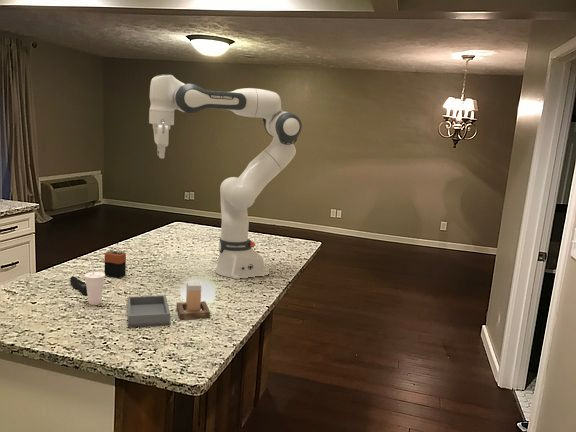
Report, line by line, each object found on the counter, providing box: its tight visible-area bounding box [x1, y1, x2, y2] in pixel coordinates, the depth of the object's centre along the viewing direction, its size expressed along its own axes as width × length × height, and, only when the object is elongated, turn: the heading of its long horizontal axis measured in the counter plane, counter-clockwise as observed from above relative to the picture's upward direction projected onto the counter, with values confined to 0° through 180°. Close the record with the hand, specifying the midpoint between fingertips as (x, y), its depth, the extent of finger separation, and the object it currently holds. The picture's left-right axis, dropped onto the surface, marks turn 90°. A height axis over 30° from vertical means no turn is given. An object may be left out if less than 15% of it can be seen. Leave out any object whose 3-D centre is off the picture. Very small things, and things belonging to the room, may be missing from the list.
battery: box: [104, 249, 127, 279], centre depth 186 cm, size 4×7×10 cm, turn 76°
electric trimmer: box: [69, 275, 88, 297], centre depth 170 cm, size 4×16×3 cm, turn 44°
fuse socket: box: [176, 300, 211, 321], centre depth 156 cm, size 9×9×2 cm
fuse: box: [185, 281, 202, 312], centre depth 156 cm, size 4×4×10 cm
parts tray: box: [126, 294, 171, 328], centre depth 152 cm, size 12×16×4 cm
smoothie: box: [83, 261, 106, 306], centre depth 157 cm, size 6×6×14 cm
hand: (160, 157), depth 181 cm, fingers open, 8 cm apart
